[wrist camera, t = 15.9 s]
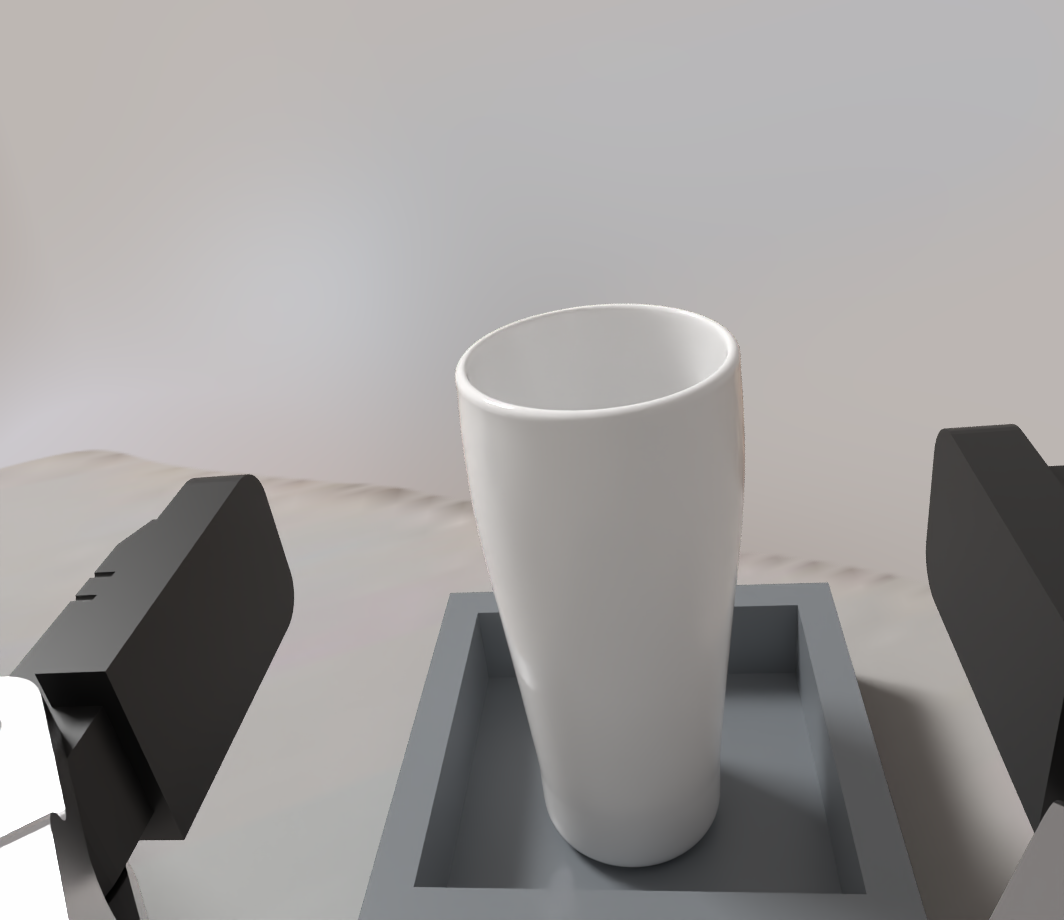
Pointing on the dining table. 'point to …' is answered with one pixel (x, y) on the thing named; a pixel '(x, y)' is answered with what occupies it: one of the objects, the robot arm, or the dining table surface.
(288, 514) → the dining table surface
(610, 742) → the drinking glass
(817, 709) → the divided tray
